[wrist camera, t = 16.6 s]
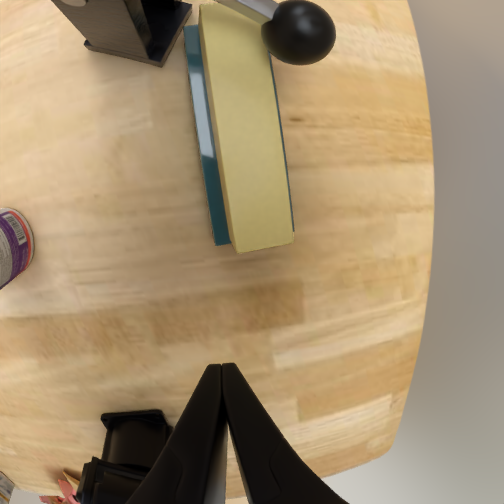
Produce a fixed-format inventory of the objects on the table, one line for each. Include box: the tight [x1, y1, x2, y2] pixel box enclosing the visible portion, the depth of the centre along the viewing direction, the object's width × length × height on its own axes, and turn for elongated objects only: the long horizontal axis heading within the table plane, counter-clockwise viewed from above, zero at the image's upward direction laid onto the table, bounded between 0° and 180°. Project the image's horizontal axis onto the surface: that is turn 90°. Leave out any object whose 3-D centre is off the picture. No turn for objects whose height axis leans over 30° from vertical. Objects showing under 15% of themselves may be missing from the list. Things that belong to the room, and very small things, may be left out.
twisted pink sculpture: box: [39, 471, 80, 504], centre depth 25 cm, size 9×10×10 cm
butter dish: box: [183, 25, 294, 246], centre depth 18 cm, size 5×14×2 cm, turn 8°
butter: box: [198, 3, 294, 254], centre depth 16 cm, size 14×3×3 cm, turn 8°
